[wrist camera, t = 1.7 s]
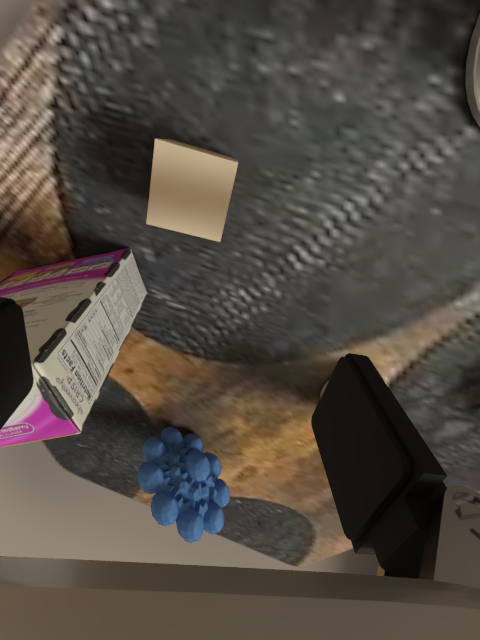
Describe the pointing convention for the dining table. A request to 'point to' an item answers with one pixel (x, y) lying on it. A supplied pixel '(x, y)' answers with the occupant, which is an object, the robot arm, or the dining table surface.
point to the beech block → (190, 189)
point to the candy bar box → (71, 338)
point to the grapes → (183, 484)
